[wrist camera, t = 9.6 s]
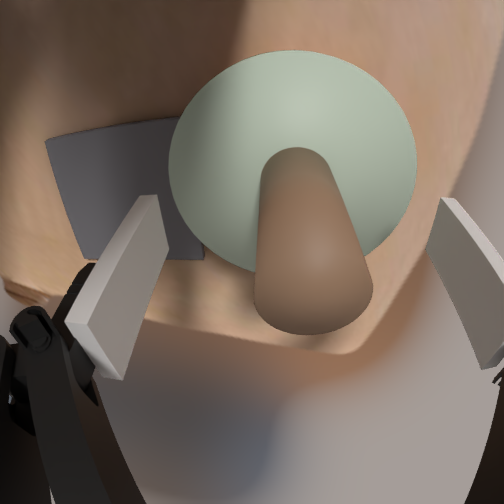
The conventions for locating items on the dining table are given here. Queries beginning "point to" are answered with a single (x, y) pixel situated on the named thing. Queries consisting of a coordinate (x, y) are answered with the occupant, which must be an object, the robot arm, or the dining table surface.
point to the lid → (295, 181)
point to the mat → (118, 183)
